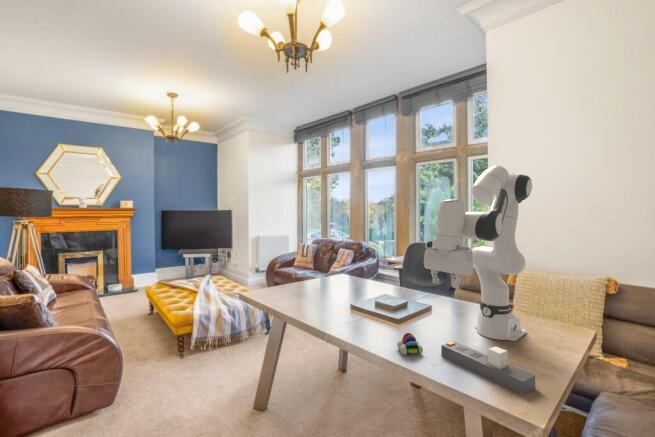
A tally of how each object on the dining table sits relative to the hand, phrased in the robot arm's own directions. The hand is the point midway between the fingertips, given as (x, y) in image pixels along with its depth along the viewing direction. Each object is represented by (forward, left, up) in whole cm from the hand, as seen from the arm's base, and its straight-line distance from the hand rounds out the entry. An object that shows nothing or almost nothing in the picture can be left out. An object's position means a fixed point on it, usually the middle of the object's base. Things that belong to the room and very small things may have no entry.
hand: (445, 285), depth 109 cm
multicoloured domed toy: (-2, -18, -31) cm, 36 cm away
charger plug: (-12, +12, -30) cm, 34 cm away
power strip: (-12, +7, -31) cm, 33 cm away
